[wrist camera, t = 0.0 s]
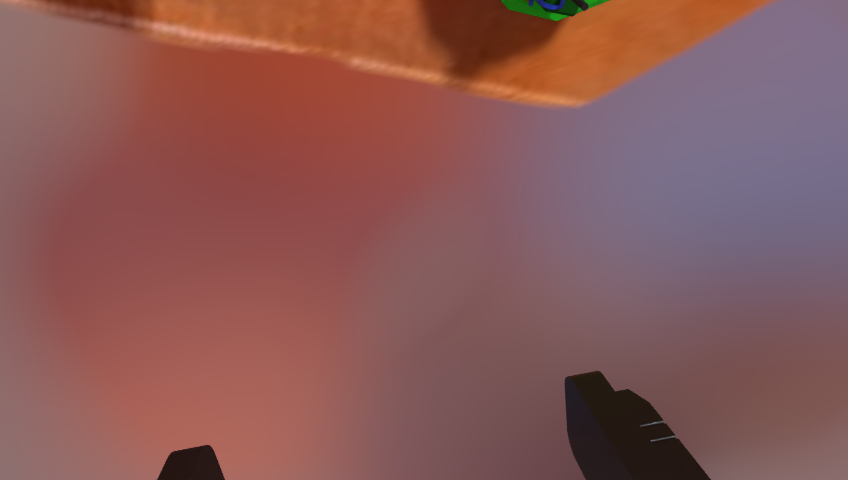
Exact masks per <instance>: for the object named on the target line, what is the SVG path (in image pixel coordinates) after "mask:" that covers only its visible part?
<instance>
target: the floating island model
mask: <svg viewBox="0 0 848 480" xmlns="http://www.w3.org/2000/svg"><path fill="white" fill-rule="evenodd" d="M607 1H609V0H501V2H502V3H503V4H504V5H505V6H506V7H507V8H508V10H513V11H517V12H521V13H525V14H529V15H533V16H537V17H541V18H545V19H550V20H554V21H558V20H561V19H563V18H566V17H569V16H574V15H575V14H577V13H579V12H581V11H585V10H587V9H589V8H592V7H594V6H597V5H599V4H602V3H604V2H607Z"/></svg>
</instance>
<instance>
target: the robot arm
mask: <svg viewBox="0 0 848 480" xmlns="http://www.w3.org/2000/svg"><path fill="white" fill-rule="evenodd" d="M565 399H566V417H567V432H568V438H569V442H570V446H571V449H572V452H573V454H574V457H575V459H576V461H577V463H578V465H579V467H580V469H581V471H582V473H583V475H584V477H585V479H586V480H711V479H710V478H709V477H708V475H707V474H706V473H705V472H704V470H703V469H702V468H701V467H700V466H699V464H698V463H697V462H696V460H695V459H694V458H693V457H692V455H691V454H690V453H689V452H688V450H687V449H686V448H685V447H684V445H683V444H682V443H681V442H680V440H679V439H676V437H675V434H674V433H673V432H672V431H671V429H670V428H669V427H668V425H667V424H664V422H663V419H662V418H661V416H660V415H659V414H658V413H657V411H656V410H655V409H654V408H653V407H652V405H651V404H650V403H649V402H648V401H646V400H645V399H643V398H641V397H640V396H638V395H637V394H635V393H633V392H632V391H630V390H629V389H626V390H621V391H616V392H615V391H614V390H613V388H612V387H611V385H610V384H609V382H608V381H607V380H606V378H605V377H604V376H603V374H602V373H601V372H599V371H594V372H589V373H584V374H578V375H573V376H568V377H566V378H565ZM157 480H225V479H224V476H223V473H222V471H221V468H220V465H219V463H218V460H217V458H216V455H215V453H214V450H213V449H212V447H211V446H209V445H204V446H199V447H194V448H189V449H183V450H178V451H174V452H172V453H171V454H170V455H169V457H168V458H167V460H166V462H165V464H164V467H163V469H162V471H161V473H160V475H159V477H158V479H157Z"/></svg>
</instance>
